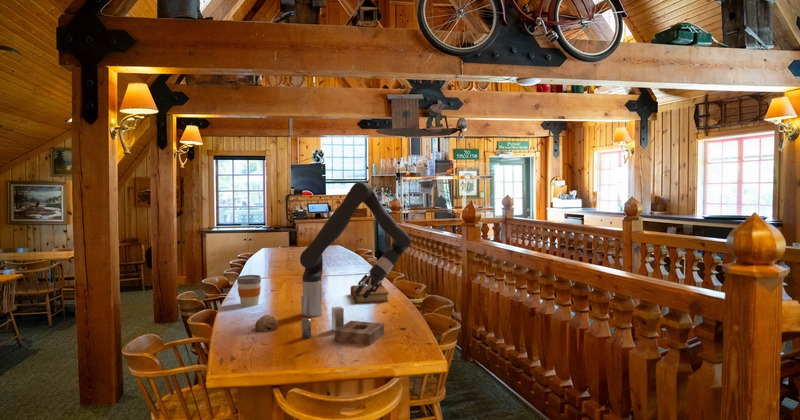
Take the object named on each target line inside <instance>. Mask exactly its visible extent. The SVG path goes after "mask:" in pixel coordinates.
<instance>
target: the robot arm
mask: <svg viewBox="0 0 800 420" xmlns="http://www.w3.org/2000/svg"><path fill="white" fill-rule="evenodd" d="M362 203H363V204H364V205H365V206H366V207H367V208H368V209H369V210H370V212H371V213H372V215H373V217H374V218H375V221H376V222H377V223H378V225H379V227H380V228H381V229H382V231H384V233H385V234H386V235H387V236H390V237H391V238H392V240H394V241H393V243H392V244H391V245H390V246H389V248H388V249H386V251H385V252H384V253H383V255H381V256H380V258H379V259H378V260H377V261H376V262H375V264H374V265H372V267H371V269H370V270H369V271H368V272H369V275H367V274H365V275H364V276H363V277H362V278H361V279H360V280H359V281H358V282H357V285H359V287H358V288H357V289H356V290H355V292H354V293H355V294H356V295H358V294H359V293H360V292H361V291H362V289H363V288H365V287H368V290H366V292H365V293H364V294H363V295H362V297H363V298H365V299H366V298H367V297H368V296H369V295H370V293H372V292H374V293H375V292H376V290H377V289H378V288H379V286H380V285H381V284H382V285H383V280H384V279H385V278H386V276H388V274H389V273H390V271H391V270H393V268H394V265H396V263H397V262H398V261H399V259H400V257H401V256H402V255H403V254H404V253H405V251H407V249H408V248H409V247H410V246H411V244H412V241H411V240H412V239H411V238H410V236H409V234H408V233H407V232H406V231H405V230H404V229H403V228H402V227H400V226H399V225H398V223H397V222H396V221H395V219H394V218H393V217H392V216H391V215H390V214H389V212H388V211H387V210H386V208H385V207H384V206H383V204H382V203H381V201H380V200H379V199H378V197H377V194H376V193H375V192H374V190H373V188H372V187H371V185H370V184H369V183H367V182H363V181H362V182H361V181H359V182H356V183H354V184H353V185H352V186H351V187H350V190H349V191H348V193H347V194H346V196H345V198H344V199H343V200H342V202H341V203H340V205H338V207H337V208H336V209H335V211H333V213H332V214H331V215H330V216H329V218H328V219H327V221H326V222H325V223H324V225H323V226H322V227H321V229H320V230H319V231H318V233H317V235H316V236H315V238H313V241H311V243H310V244H309V245H308V246H307V247H306V248H305V249H304V250H303V251H302V253H301V254H300V256H299V261H300V262H299V263H300V265H301V267H303V268H304V272H303V274H302V295H301V296H300V298H301V299H300V300H301V301H300V302H301V303H300V304H301V306H300V308H301V310H300V311H301V312H300V313H301V316H305V317H318V316H321V315H322V314H323V312H322V311H323V305H322V300H323V299H322V297H323V295H322V276H323V267H324V266H323V265H324V264H323V261H324V260H323V258H324V257H323V253H324V252H325V250H326V249H327V248H329V246H330V245H332V244H333V243H334V242H335V241H336V240H337V239H338V238H339V237H340V236H341V234H342V233H343V232H344V231H345V229H346V228H347V226H348V224H349V223H350V221H351V219H352V216H353V214H354V213H355V211H356V210H357V209H358V207H359V206H360V205H361V204H362ZM375 287H376V288H375Z"/></svg>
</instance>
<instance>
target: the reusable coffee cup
mask: <svg viewBox="0 0 800 420" xmlns="http://www.w3.org/2000/svg"><path fill="white" fill-rule="evenodd" d="M236 280H237V281H236V284H237V293H238V297H239V300H240V305H241V306H242V307H254V306H257V305H259V300H260V299H259V298H260V295H261V287H262V286H261V282H262V278H261V275H258V274H245V275H241V276H237V277H236Z"/></svg>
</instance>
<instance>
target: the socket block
mask: <svg viewBox="0 0 800 420" xmlns="http://www.w3.org/2000/svg"><path fill="white" fill-rule="evenodd" d="M384 335H385V323H381V322H380V323H378V322H368V321H359V320H349V321H348V322H347V323H344V325H343V326H341V327H340V328H338V329H337V330H335V331H334V342H339V343H347V344H356V345H357V344H358V345H365V346H366V345H367V346H371V345H372V344H373V343H375V342H376V341H377V340H379V339H380V338H381V337H382V336H384Z"/></svg>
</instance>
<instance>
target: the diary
mask: <svg viewBox="0 0 800 420" xmlns="http://www.w3.org/2000/svg"><path fill="white" fill-rule="evenodd" d="M358 287H359V285H358V284H357V285H351V286H350V295H351V297H352V300H353V301H354V304H357V305H358V304H368V303H369V304H371V303H372V304H373V303H389V302H390V300H389V299H388V295H390V292H389V291H388V290H387V288H385V286H384V285H383V283H382V284H381V285H380V286H379V288H378V289H377V290H376V292H375V293H374V292H372V293H370V295H369V296H368V297H367V298H366V299H365V298H363V297H362V295H363V294H364V293H365V292H366V290H368V287H365V288H363V289H362V291H361V292H360V293H359V294H358V295H356V294H355V293H354V292H355V290H356V289H357V288H358ZM375 288H376V287H375Z"/></svg>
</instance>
